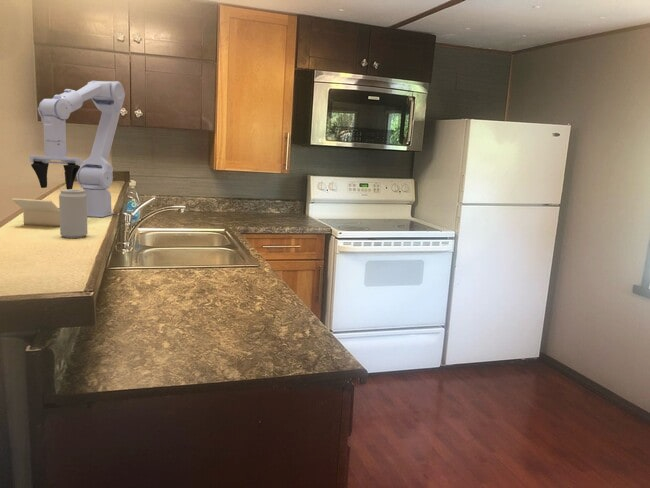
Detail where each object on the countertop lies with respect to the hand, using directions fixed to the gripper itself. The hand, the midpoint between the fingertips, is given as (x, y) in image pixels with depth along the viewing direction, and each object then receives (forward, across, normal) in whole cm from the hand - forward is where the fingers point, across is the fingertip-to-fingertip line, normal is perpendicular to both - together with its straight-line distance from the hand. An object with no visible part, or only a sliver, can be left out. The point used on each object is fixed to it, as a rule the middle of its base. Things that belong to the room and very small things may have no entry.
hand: (56, 188), depth 160 cm
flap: (+4, 0, -10) cm, 11 cm away
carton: (+10, 0, -5) cm, 11 cm away
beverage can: (+10, +16, -21) cm, 28 cm away
